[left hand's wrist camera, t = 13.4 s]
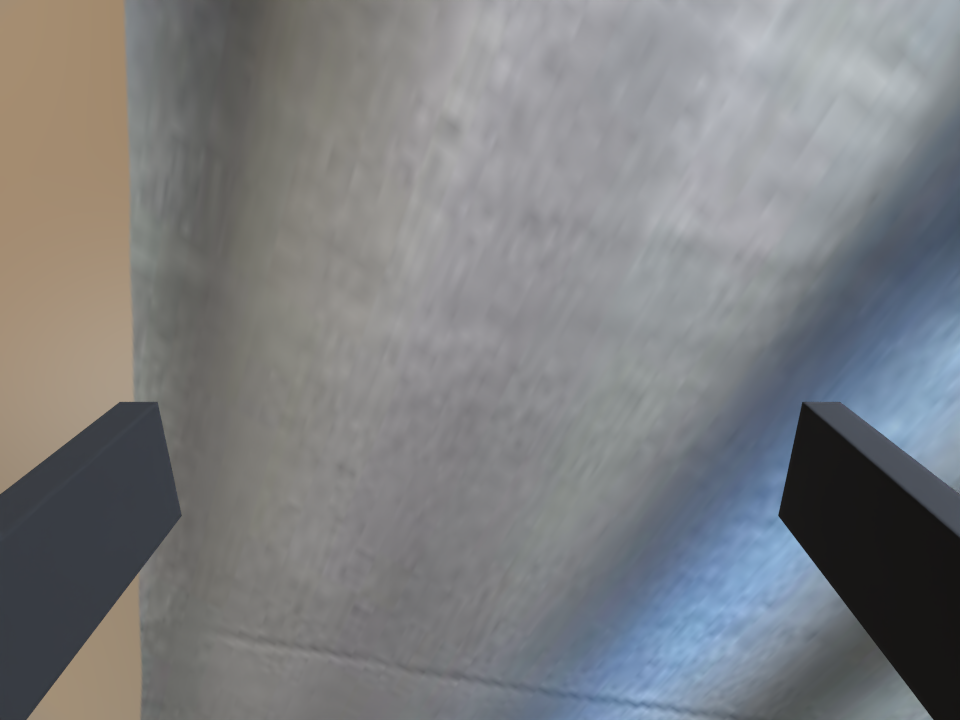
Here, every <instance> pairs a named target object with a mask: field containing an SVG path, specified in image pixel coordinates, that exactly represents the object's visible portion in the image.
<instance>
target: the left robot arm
mask: <svg viewBox="0 0 960 720" xmlns="http://www.w3.org/2000/svg"><path fill="white" fill-rule="evenodd" d="M181 516H182V515H181V510H180V506H179V501H178V496H177V492H176V487H175V482H174V477H173V473H172V468H171V463H170V458H169V454H168V449H167V444H166V440H165V435H164V430H163V425H162V421H161V416H160V411H159V407H158V402H119V403H118V404H117V405H115V406H114V407H113V408H112V409H110V410H109V411H108V412H106V413H105V414H104V415H103V416H101V417H100V418H99V419H97V420H96V421H95V422H93V423H92V424H91V425H90V426H88V427H87V428H86V429H84V430H83V431H82V432H80V433H79V434H78V435H77V436H75V437H74V438H73V439H71V440H70V441H69V442H68V443H66V444H65V445H64V446H62V447H61V448H60V449H58V450H57V451H56V452H55V453H53V454H52V455H51V456H50V457H48V458H47V459H46V460H44V461H43V462H42V463H40V464H39V465H38V466H36V467H35V468H34V469H33V470H31V471H30V472H29V473H27V474H26V475H25V476H24V477H22V478H21V479H20V480H18V481H17V482H16V483H15V484H13V485H12V486H11V487H9V488H8V489H7V490H5V491H4V492H3V493H2V494H0V720H27V718H28V717H29V716H30V714H31V713H32V712H33V710H34V709H35V708H36V706H37V705H38V704H39V702H40V701H41V700H42V698H43V697H44V696H45V695H46V693H47V692H48V691H49V689H50V688H51V687H52V685H53V684H54V683H55V681H56V680H57V679H58V677H59V676H60V675H61V674H62V672H63V671H64V670H65V668H66V667H67V666H68V664H69V663H70V662H71V660H72V659H73V658H74V656H75V655H76V654H77V653H78V651H79V650H80V649H81V647H82V646H83V645H84V643H85V642H86V641H87V639H88V638H89V637H90V635H91V634H92V633H93V631H94V630H95V629H96V628H97V626H98V625H99V624H100V622H101V621H102V620H103V618H104V617H105V616H106V614H107V613H108V612H109V610H110V609H111V608H112V607H113V605H114V604H115V603H116V601H117V600H118V599H119V597H120V596H121V595H122V593H123V592H124V591H125V589H126V588H127V587H128V586H129V584H130V583H131V582H132V580H133V579H134V578H135V576H136V575H137V574H138V572H139V571H140V570H141V568H142V567H143V566H144V565H145V563H146V562H147V561H148V559H149V558H150V557H151V555H152V554H153V553H154V551H155V550H156V549H157V547H158V546H159V545H160V543H161V542H162V541H163V540H164V538H165V537H166V536H167V534H168V533H169V532H170V530H171V529H172V528H173V526H174V525H175V524H176V522H177V521H178V520H179V519H180V517H181ZM778 516H779V517H780V519H781V520H782V521H783V522H784V524H785V525H786V526H787V528H788V529H789V530H790V532H791V533H792V534H793V536H794V537H795V538H796V540H797V541H798V542H799V543H800V545H801V546H802V547H803V549H804V550H805V551H806V553H807V554H808V555H809V557H810V558H811V559H812V561H813V562H814V563H815V565H816V566H817V567H818V568H819V570H820V571H821V572H822V574H823V575H824V576H825V578H826V579H827V580H828V582H829V583H830V584H831V586H832V587H833V588H834V589H835V591H836V592H837V593H838V595H839V596H840V597H841V599H842V600H843V601H844V603H845V604H846V605H847V607H848V608H849V609H850V610H851V612H852V613H853V614H854V616H855V617H856V618H857V620H858V621H859V622H860V624H861V625H862V626H863V628H864V629H865V630H866V632H867V633H868V634H869V635H870V637H871V638H872V639H873V641H874V642H875V643H876V645H877V646H878V647H879V649H880V650H881V651H882V653H883V654H884V655H885V656H886V658H887V659H888V660H889V662H890V663H891V664H892V666H893V667H894V668H895V670H896V671H897V672H898V674H899V675H900V676H901V677H902V679H903V680H904V681H905V683H906V684H907V685H908V687H909V688H910V689H911V691H912V692H913V693H914V695H915V696H916V697H917V699H918V700H919V701H920V702H921V704H922V705H923V706H924V708H925V709H926V710H927V712H928V713H929V714H930V716H931V717H932V718H933V720H960V494H958V493H957V492H956V491H955V490H953V489H952V488H951V487H949V486H948V485H947V484H946V483H944V482H943V481H942V480H940V479H939V478H938V477H936V476H935V475H934V474H933V473H931V472H930V471H929V470H927V469H926V468H925V467H924V466H922V465H921V464H920V463H918V462H917V461H916V460H914V459H913V458H912V457H911V456H909V455H908V454H907V453H905V452H904V451H903V450H902V449H900V448H899V447H898V446H896V445H895V444H894V443H892V442H891V441H890V440H889V439H887V438H886V437H885V436H883V435H882V434H881V433H880V432H878V431H877V430H876V429H874V428H873V427H872V426H870V425H869V424H868V423H867V422H865V421H864V420H863V419H861V418H860V417H859V416H858V415H856V414H855V413H854V412H852V411H851V410H850V409H848V408H847V407H846V406H845V405H843V404H842V403H841V402H802V407H801V411H800V416H799V421H798V425H797V430H796V435H795V440H794V444H793V449H792V454H791V458H790V463H789V468H788V473H787V477H786V482H785V487H784V492H783V496H782V501H781V506H780V510H779V515H778Z"/></svg>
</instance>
